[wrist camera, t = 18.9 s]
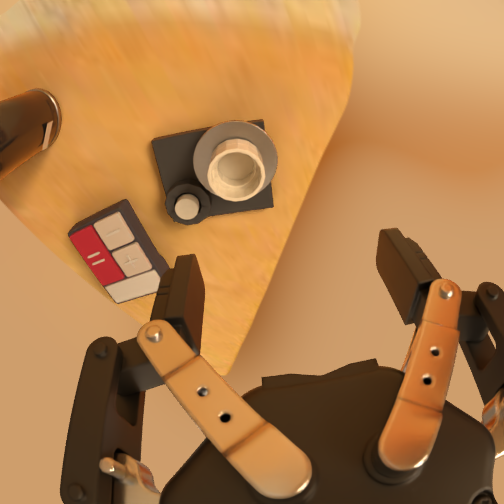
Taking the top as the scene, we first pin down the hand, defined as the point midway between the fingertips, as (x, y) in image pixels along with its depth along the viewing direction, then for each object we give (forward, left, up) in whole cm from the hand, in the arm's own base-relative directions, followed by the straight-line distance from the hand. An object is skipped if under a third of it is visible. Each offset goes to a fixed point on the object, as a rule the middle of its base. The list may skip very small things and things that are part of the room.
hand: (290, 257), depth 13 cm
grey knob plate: (-6, -6, -28) cm, 29 cm away
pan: (-3, -4, -25) cm, 26 cm away
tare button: (-10, -9, -25) cm, 29 cm away
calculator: (-23, -16, -28) cm, 40 cm away
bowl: (-3, -4, -24) cm, 25 cm away
